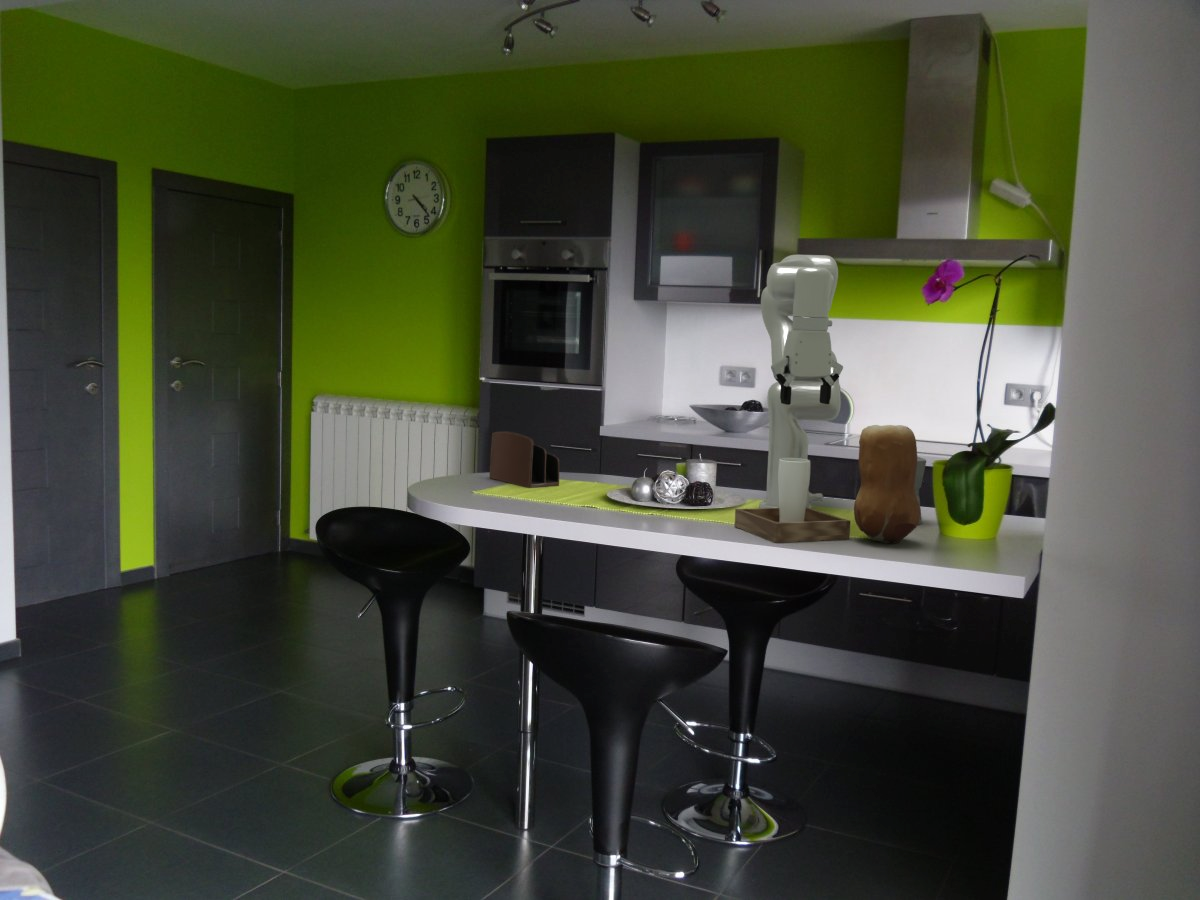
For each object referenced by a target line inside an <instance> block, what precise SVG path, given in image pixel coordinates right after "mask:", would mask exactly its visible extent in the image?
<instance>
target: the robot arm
mask: <svg viewBox="0 0 1200 900" xmlns="http://www.w3.org/2000/svg"><path fill="white" fill-rule="evenodd" d="M838 278H839V269H838V264H837V262H836V260H835V259H834V258H833V257H832V256H830V255H825V254H823V255H822V254H821V255H820V254H818V255H817V254H791V255H788V256H785V257H784V258H783V259H782V260H781V261H780V262H774V263H772V264H771V265H770V268H769V269H768V272H767V275H766V287H765V288H763V290H762V292H761V297H760V310H761V315H762V320H763V323H764V327H765V329H766V331H767V333H768V336H769V339H770V347H771V348H770V350H771V352H770V353H771V365H770V369H771V372H772V375H773V378H774V380H775V381H776V382H774V383H772V384H771V385H770V387H769V388H768V391H767V408H768V409H767V411H768V423H769V425H768V427H769V433H768V455H767V473H766V492H765V493H766V496H765V500H763V501H760V502H759V507H758V508H779V488H778V469H779V459H781V458H801V459H807V460H808V454H809V437H808V434H807V432H806V431H805V430H804V429H803V427H802V426H801V425H800V423H799V422H800V421H814V422H815V421H816V422H820V421H821V422H822V421H823V422H827V421H828V422H829V421H833V420H835V419H836V418H837V417H839V414H840V412H841V407H842V402H841V387H840V375H841V373H842V371H843V369H844V366H843V364H840V363H839V362H838V359H837V357H836V354H835V353H834V352H833V350H832V340H831V334H830V332H828V330H829V327H833V321H832V320H829V312H830V310H831V308H832V304H833V299H834V296H835V294H836V293H835V292H836V288H837V284H838V280H839V279H838ZM790 317H792V319H791V318H790ZM823 500H824V495H823V493H812V492H810V491H809V490H808V496H807V503H806V507H808V508H812V505H811V504H810V503H812V502H823Z"/></svg>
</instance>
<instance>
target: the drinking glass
mask: <svg viewBox="0 0 1200 900" xmlns="http://www.w3.org/2000/svg"><path fill="white" fill-rule="evenodd" d="M810 479H811V460H810V459H808V458H807V459H801V458H781V459H779V469H778V488H779V523H783V522H804V518H805V510H806V503H807V496H808V491H809V487H810Z"/></svg>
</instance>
